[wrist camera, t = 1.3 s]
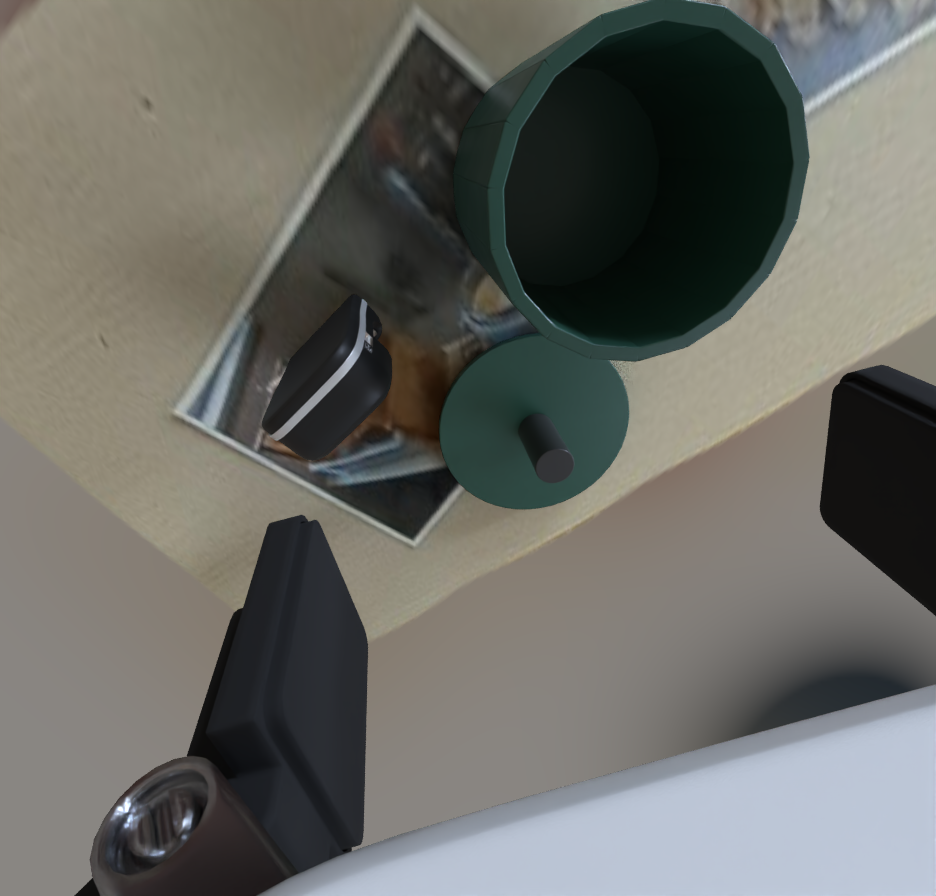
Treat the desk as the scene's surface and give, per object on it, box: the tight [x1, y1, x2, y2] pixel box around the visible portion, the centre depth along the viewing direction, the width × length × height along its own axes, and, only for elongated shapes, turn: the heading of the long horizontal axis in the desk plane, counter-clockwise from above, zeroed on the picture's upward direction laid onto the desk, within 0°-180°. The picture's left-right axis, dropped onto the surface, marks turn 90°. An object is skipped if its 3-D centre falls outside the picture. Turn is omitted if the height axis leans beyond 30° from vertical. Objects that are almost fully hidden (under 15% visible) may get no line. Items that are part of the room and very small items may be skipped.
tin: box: [453, 0, 810, 362], centre depth 29 cm, size 13×14×14 cm
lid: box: [439, 333, 629, 509], centre depth 40 cm, size 14×14×7 cm
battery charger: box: [262, 294, 392, 461], centre depth 33 cm, size 7×4×11 cm, turn 133°
